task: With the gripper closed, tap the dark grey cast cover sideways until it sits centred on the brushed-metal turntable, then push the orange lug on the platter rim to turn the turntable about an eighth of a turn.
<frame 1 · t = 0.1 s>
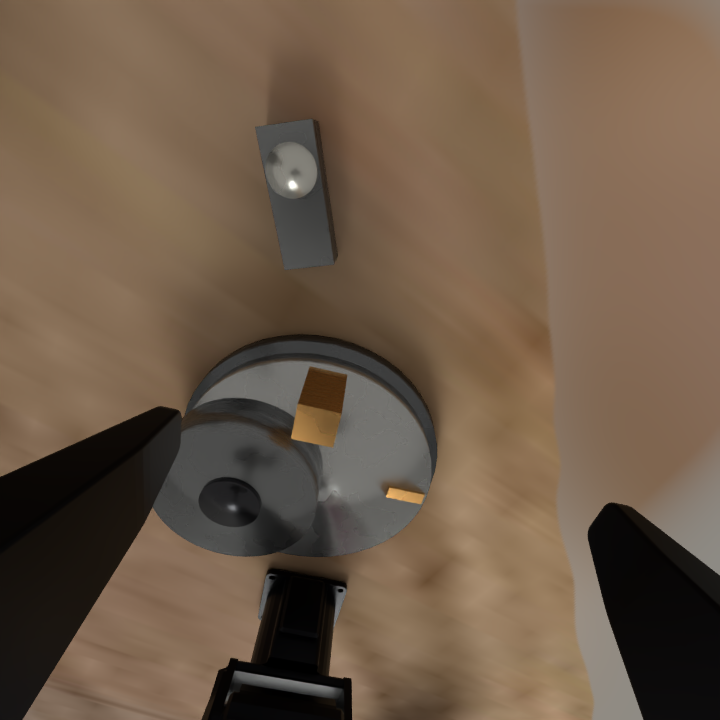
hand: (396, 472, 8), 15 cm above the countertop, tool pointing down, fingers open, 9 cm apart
platter: (302, 487, 24), point 4 cm above the countertop, hinge at 0.0°, touching cover
grey bar: (304, 196, 20), on the countertop
turntable base: (311, 446, 27), on the countertop
cover: (247, 461, 24), point 2 cm above the countertop, touching platter
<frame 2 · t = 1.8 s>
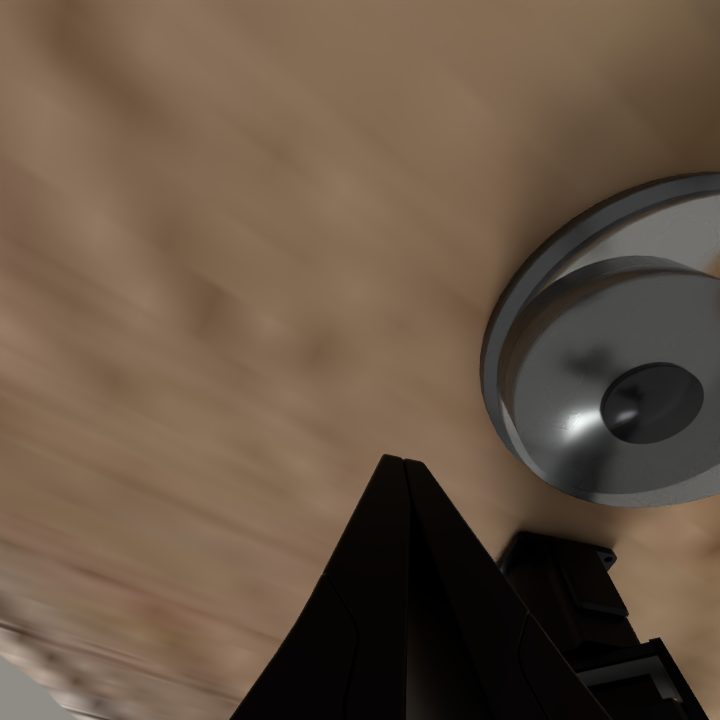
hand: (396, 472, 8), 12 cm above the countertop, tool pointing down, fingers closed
platter: (701, 395, 17), point 4 cm above the countertop, hinge at 0.0°, touching cover
turntable base: (649, 354, 20), on the countertop
cover: (606, 362, 17), point 2 cm above the countertop, touching platter
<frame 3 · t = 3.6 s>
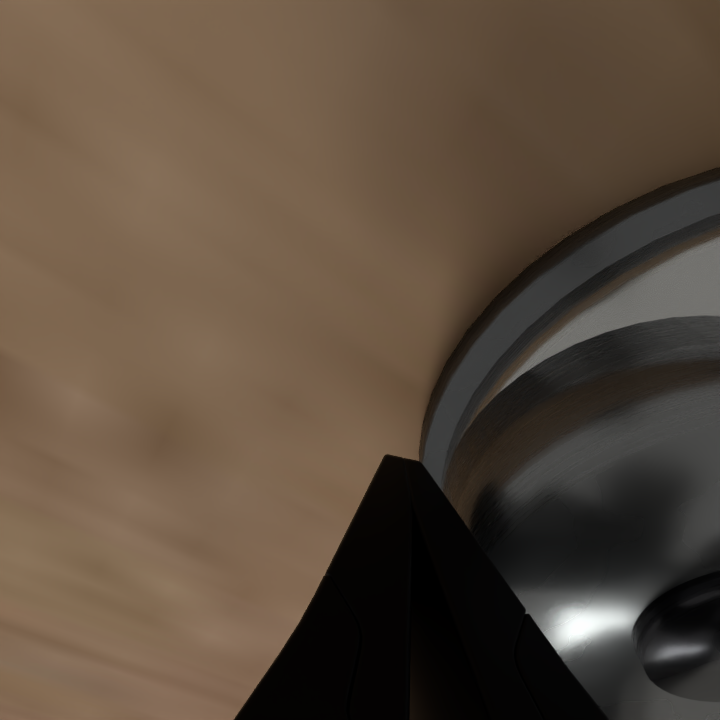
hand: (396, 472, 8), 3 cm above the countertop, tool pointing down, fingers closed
turntable base: (691, 454, 12), on the countertop
cover: (635, 494, 10), point 3 cm above the countertop, touching gripper
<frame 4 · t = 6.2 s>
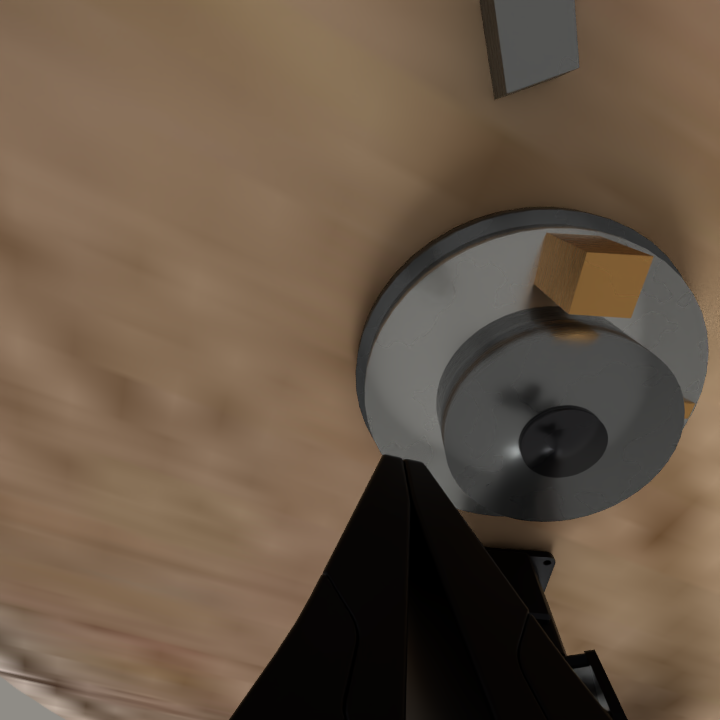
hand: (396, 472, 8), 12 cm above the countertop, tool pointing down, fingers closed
platter: (536, 412, 18), point 4 cm above the countertop, hinge at 0.7°, touching cover
turntable base: (512, 372, 21), on the countertop
cover: (535, 399, 19), point 2 cm above the countertop, touching platter
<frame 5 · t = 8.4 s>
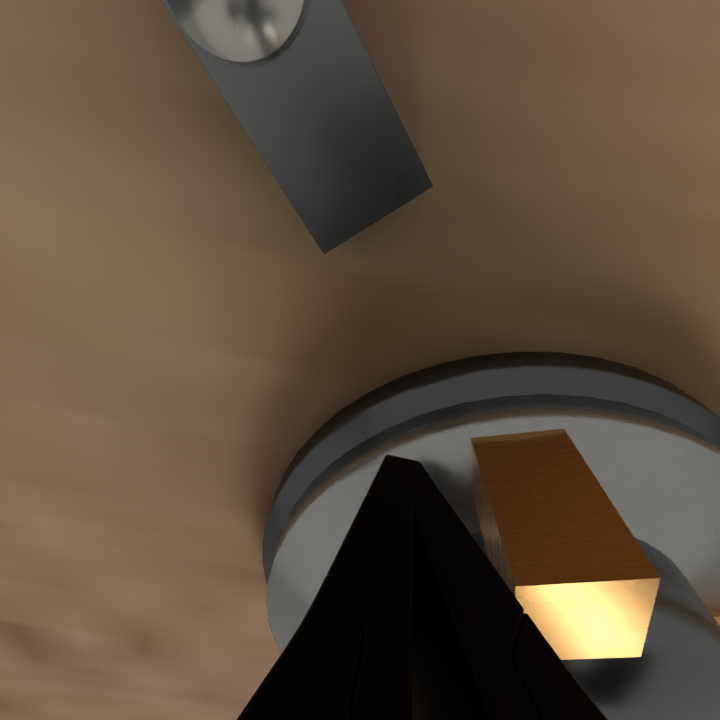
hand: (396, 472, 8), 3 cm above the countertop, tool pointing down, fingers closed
platter: (527, 672, 11), point 4 cm above the countertop, hinge at 2.1°, touching cover, gripper
grey bar: (301, 74, 8), on the countertop
turntable base: (495, 555, 15), on the countertop
cover: (527, 628, 12), point 2 cm above the countertop, touching platter
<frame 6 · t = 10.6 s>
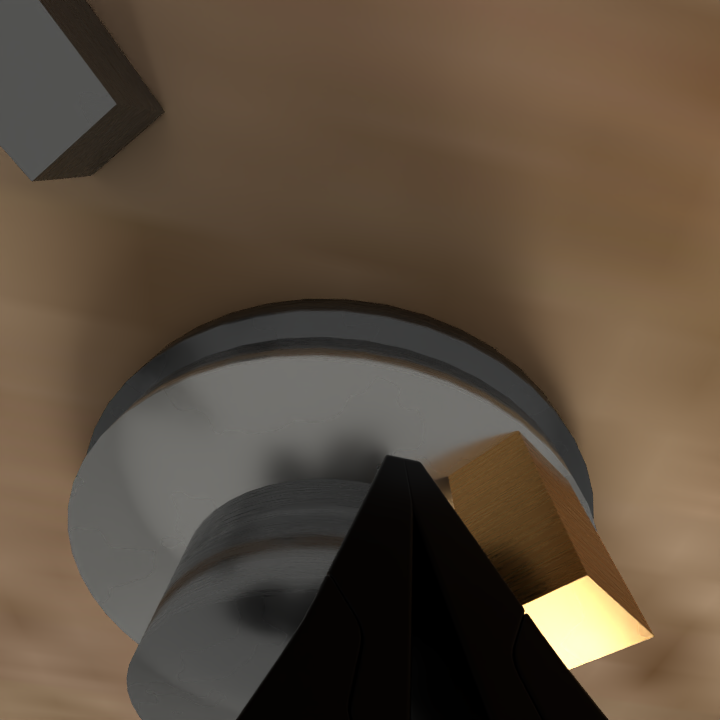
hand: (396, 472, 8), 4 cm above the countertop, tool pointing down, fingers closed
platter: (323, 628, 11), point 4 cm above the countertop, hinge at 57.0°, touching cover, gripper
turntable base: (336, 519, 14), on the countertop
cover: (335, 593, 12), point 2 cm above the countertop, touching platter
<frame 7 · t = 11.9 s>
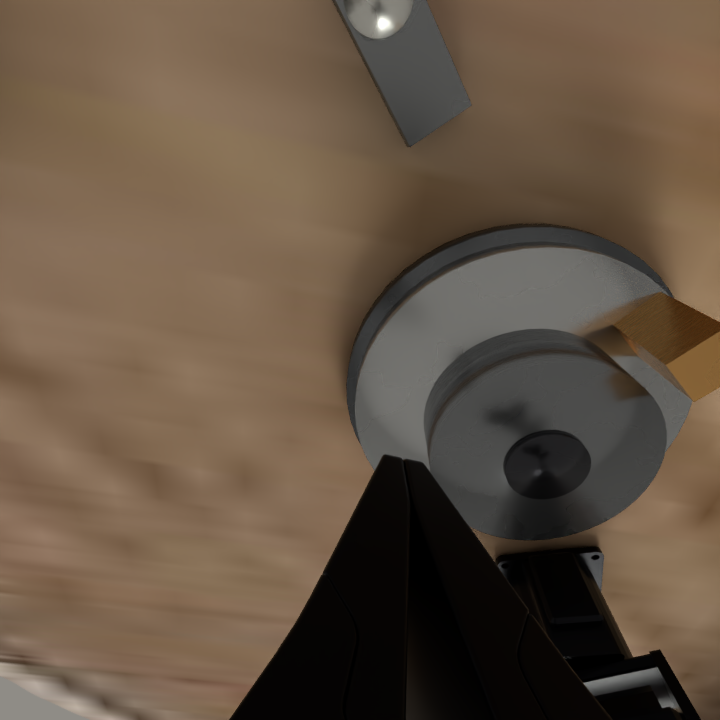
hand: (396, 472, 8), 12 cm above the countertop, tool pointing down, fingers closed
platter: (525, 428, 18), point 4 cm above the countertop, hinge at 57.1°, touching cover
grey bar: (395, 48, 15), on the countertop
turntable base: (503, 385, 21), on the countertop
cover: (521, 418, 19), point 2 cm above the countertop, touching platter
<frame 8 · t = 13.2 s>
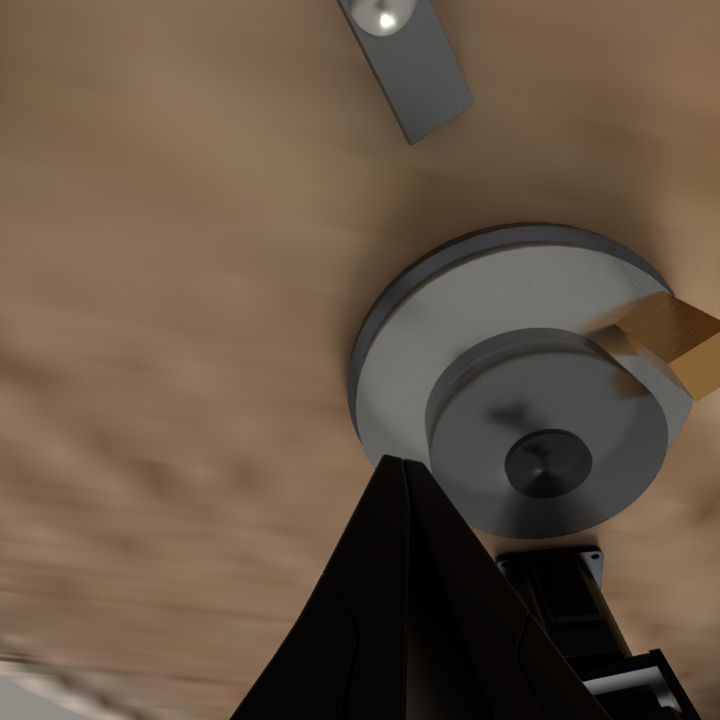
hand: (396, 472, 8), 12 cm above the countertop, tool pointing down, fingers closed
platter: (526, 427, 18), point 4 cm above the countertop, hinge at 57.1°, touching cover
grey bar: (398, 45, 15), on the countertop
turntable base: (504, 384, 21), on the countertop
cover: (522, 417, 19), point 2 cm above the countertop, touching platter
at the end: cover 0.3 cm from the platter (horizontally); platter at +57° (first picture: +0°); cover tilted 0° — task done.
